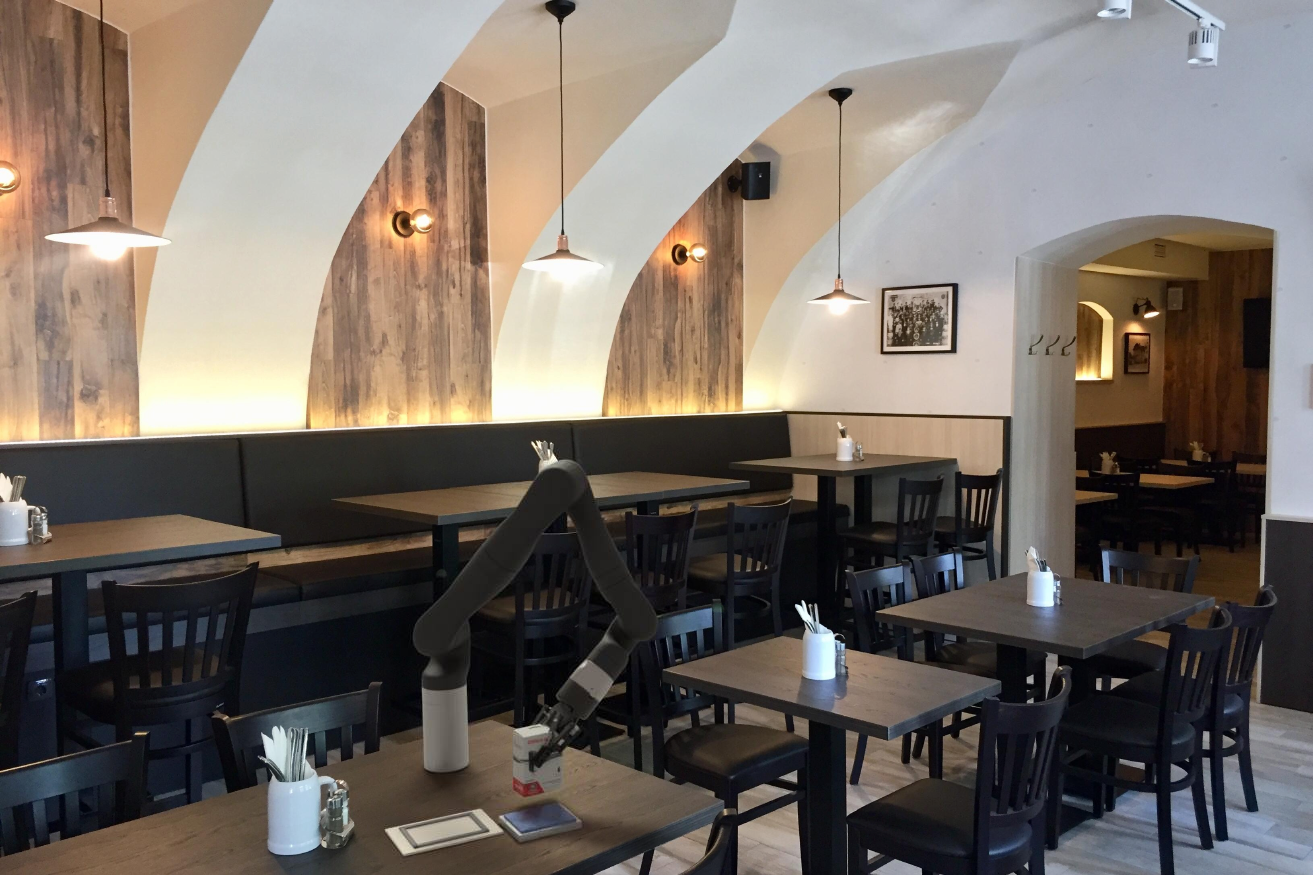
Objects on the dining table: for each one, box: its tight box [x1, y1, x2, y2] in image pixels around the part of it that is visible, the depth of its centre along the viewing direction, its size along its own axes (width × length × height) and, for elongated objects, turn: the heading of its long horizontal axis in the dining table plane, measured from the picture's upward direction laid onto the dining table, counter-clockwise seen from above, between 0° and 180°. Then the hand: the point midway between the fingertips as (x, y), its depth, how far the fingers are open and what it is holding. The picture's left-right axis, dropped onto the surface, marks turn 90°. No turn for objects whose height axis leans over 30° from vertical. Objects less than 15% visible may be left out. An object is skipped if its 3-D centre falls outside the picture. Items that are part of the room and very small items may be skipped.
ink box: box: [512, 723, 564, 798], centre depth 203 cm, size 8×5×12 cm, turn 123°
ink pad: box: [498, 802, 583, 843], centre depth 193 cm, size 10×12×2 cm
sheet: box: [384, 808, 505, 857], centre depth 190 cm, size 12×18×1 cm, turn 119°
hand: (529, 760), depth 202 cm, fingers closed on ink box, 5 cm apart
